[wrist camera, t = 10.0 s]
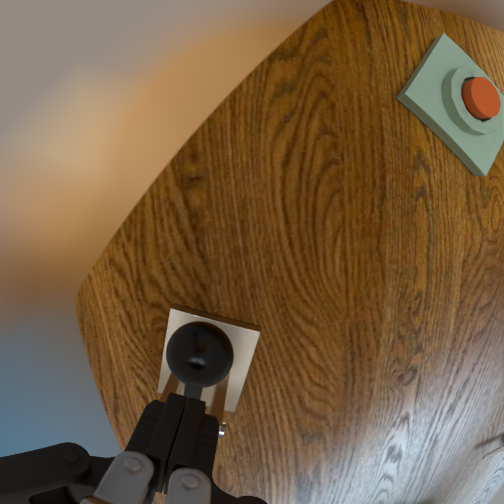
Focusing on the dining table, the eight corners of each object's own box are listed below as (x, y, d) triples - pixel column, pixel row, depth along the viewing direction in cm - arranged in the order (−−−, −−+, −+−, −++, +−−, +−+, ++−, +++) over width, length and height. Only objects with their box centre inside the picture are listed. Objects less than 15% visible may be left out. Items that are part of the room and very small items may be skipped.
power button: (455, 98, 22) (465, 94, 21) (469, 72, 22) (479, 68, 20) (482, 127, 23) (492, 125, 21) (494, 100, 22) (505, 98, 20)
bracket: (173, 303, 31) (132, 366, 20) (260, 326, 32) (260, 401, 20) (160, 386, 34) (128, 457, 22) (235, 405, 34) (226, 484, 23)
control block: (395, 98, 26) (413, 89, 22) (434, 39, 24) (452, 26, 20) (474, 175, 27) (496, 177, 24) (505, 113, 25) (526, 109, 22)
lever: (178, 299, 16) (156, 354, 14) (244, 317, 17) (233, 375, 14) (172, 403, 25) (161, 439, 22) (212, 414, 25) (203, 450, 22)
